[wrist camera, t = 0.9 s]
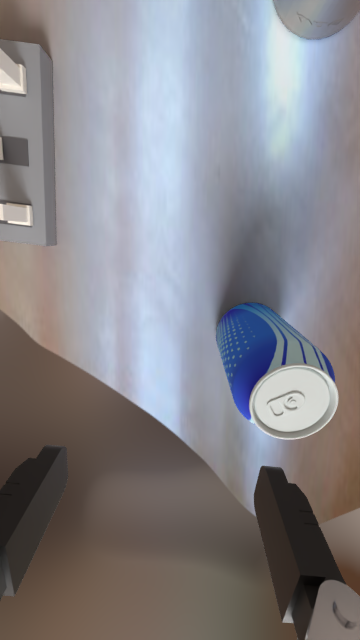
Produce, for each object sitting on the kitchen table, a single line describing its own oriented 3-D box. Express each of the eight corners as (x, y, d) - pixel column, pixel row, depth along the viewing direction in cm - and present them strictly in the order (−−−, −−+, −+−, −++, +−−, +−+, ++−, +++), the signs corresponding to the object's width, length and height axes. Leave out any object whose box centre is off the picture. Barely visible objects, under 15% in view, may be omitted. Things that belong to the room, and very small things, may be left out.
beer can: (224, 293, 34) (256, 342, 18) (287, 307, 34) (370, 366, 19) (208, 352, 36) (224, 438, 21) (267, 365, 36) (325, 457, 21)
